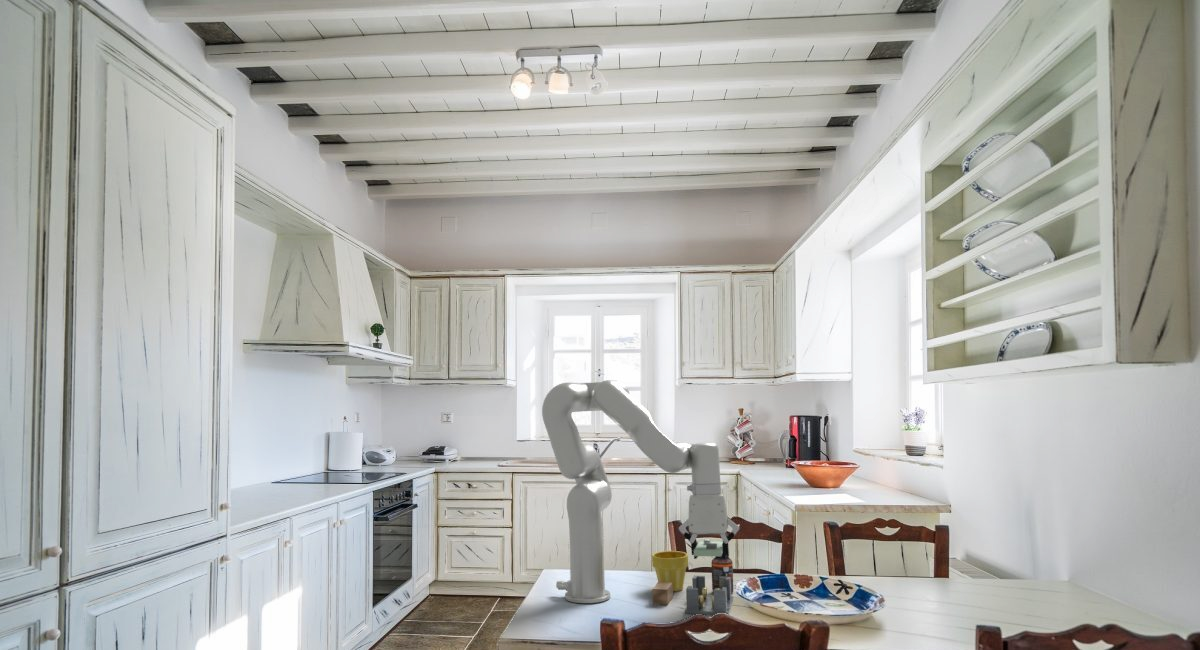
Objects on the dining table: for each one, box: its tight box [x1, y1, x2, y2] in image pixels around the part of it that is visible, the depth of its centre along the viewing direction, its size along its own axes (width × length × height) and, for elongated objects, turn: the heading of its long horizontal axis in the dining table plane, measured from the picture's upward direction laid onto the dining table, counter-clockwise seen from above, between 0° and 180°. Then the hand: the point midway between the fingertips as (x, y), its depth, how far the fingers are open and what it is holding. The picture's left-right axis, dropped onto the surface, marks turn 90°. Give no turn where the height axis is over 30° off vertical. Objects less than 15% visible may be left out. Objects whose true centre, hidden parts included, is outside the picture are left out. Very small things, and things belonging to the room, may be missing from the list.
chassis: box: [684, 575, 734, 616], centre depth 202 cm, size 11×16×6 cm
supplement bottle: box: [710, 554, 734, 594], centre depth 217 cm, size 6×6×11 cm
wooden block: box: [652, 581, 674, 606], centre depth 208 cm, size 4×8×4 cm, turn 165°
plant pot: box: [651, 550, 689, 592], centre depth 221 cm, size 10×10×10 cm
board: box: [693, 539, 723, 557], centre depth 203 cm, size 7×12×2 cm, turn 166°
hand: (710, 557), depth 203 cm, fingers closed on board, 7 cm apart
